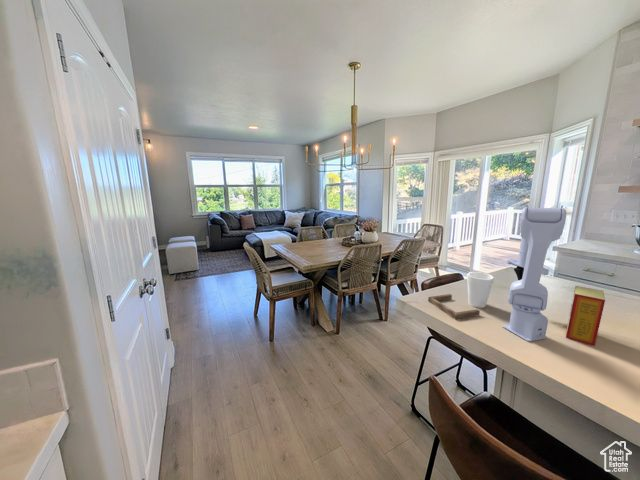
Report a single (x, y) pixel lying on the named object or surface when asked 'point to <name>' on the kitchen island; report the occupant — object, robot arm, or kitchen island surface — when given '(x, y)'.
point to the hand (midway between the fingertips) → (523, 286)
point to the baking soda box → (585, 315)
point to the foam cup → (479, 288)
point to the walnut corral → (455, 315)
